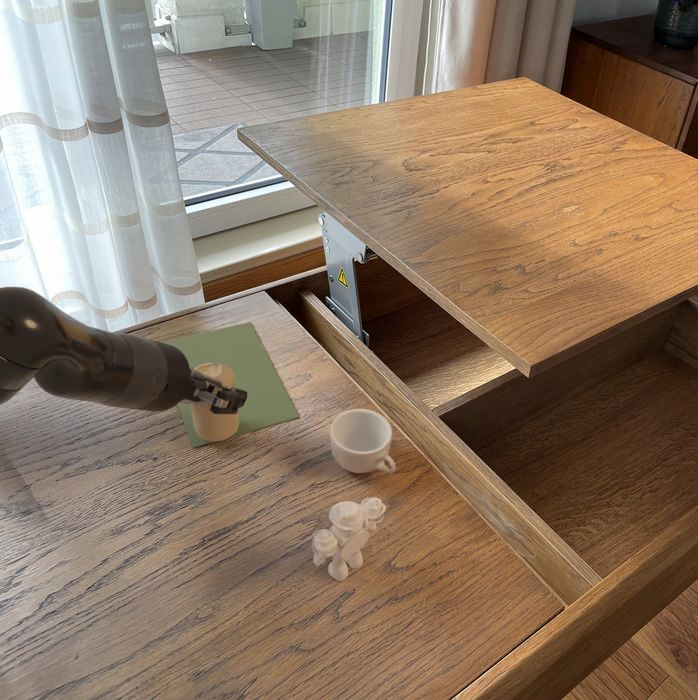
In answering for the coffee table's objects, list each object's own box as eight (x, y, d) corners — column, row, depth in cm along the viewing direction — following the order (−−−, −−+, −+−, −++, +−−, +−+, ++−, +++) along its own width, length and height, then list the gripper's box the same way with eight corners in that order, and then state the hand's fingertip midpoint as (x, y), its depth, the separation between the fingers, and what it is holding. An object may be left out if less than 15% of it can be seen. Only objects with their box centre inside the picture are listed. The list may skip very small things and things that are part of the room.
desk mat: (193, 448, 91) (193, 447, 91) (155, 344, 105) (155, 343, 105) (299, 417, 97) (299, 416, 97) (250, 323, 111) (250, 322, 111)
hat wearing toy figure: (324, 602, 77) (324, 537, 70) (303, 577, 79) (301, 511, 72) (388, 555, 83) (395, 490, 75) (367, 533, 85) (371, 467, 77)
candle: (227, 405, 95) (220, 348, 89) (246, 431, 92) (241, 374, 86) (187, 421, 92) (177, 364, 86) (205, 448, 89) (196, 391, 83)
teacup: (317, 457, 92) (317, 428, 89) (361, 427, 97) (362, 399, 94) (370, 502, 88) (372, 474, 85) (413, 469, 93) (417, 442, 89)
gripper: (67, 379, 76) (166, 394, 92) (172, 433, 72) (256, 439, 88) (97, 314, 76) (191, 341, 93) (203, 366, 72) (282, 384, 89)
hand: (222, 389), depth 90 cm, fingers closed on candle, 5 cm apart
